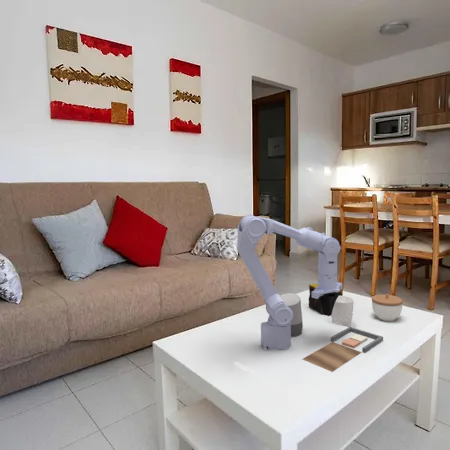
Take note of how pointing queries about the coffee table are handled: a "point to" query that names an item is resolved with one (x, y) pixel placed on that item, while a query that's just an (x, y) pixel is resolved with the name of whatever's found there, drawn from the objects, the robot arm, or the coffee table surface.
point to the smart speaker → (294, 312)
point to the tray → (377, 338)
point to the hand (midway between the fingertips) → (327, 315)
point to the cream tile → (359, 338)
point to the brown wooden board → (332, 356)
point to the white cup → (343, 311)
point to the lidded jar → (387, 307)
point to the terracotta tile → (351, 343)
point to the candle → (316, 303)
